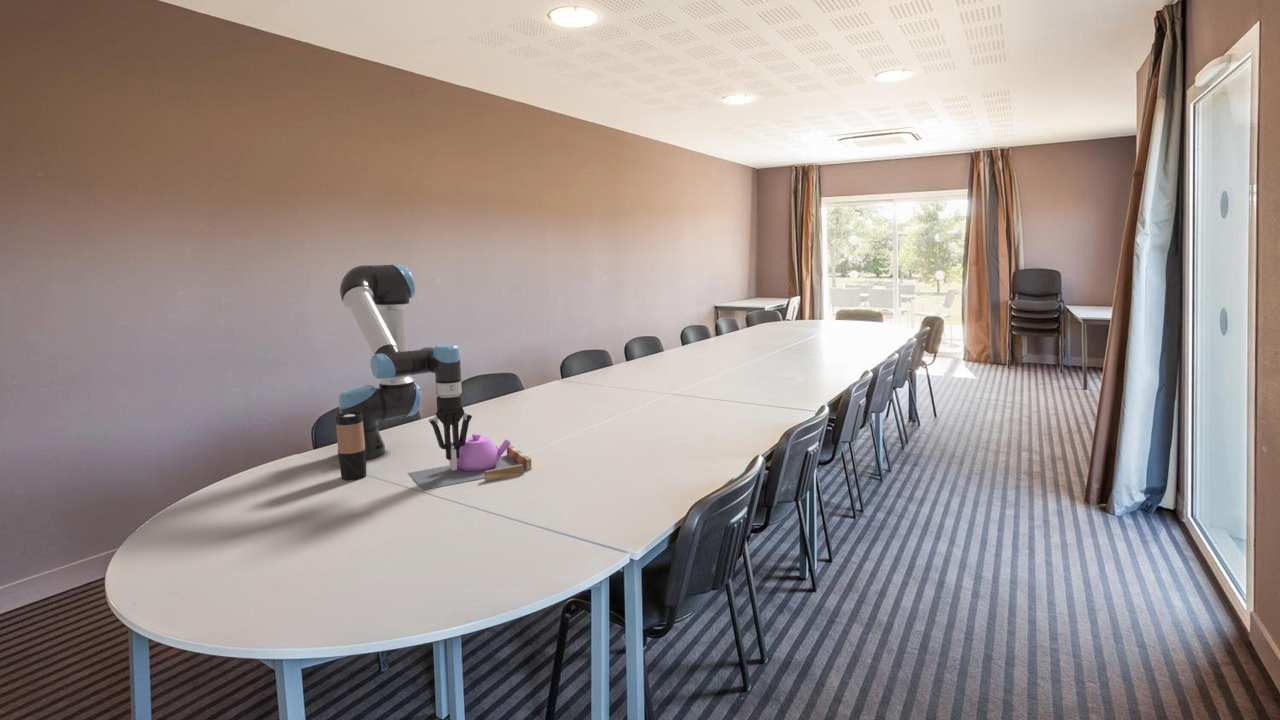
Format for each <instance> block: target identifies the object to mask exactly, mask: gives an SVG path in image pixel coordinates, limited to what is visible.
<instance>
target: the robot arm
mask: <svg viewBox="0 0 1280 720" xmlns="http://www.w3.org/2000/svg"><path fill="white" fill-rule="evenodd" d="M415 284H416V283H415V280H414V276H413V274H412V273H411V271H410V269H409V268H407V266H405V265H401V264H380V265H379V264H375V265H372V264H370V265H363V264H362V265H358V266H354V267H353V268H351V269H349V271H347V272H346V274H345V275H344V276H343V277H342V280H341V282H340V286H339V295H340V297H341V301H342V303H343V304H344V306H345V307H346V308H347V309H350V311H351V313H352V315H353V317H354V319H355V321H356V323H357V325H358V327H359V329H360V331H361V333H362V335H363V337H364V339H365V341H366V343H367V345H368V347H369V348H370V351H371V353H372V356H371V357H370V358H371V359H370V369H371V373H372V375H373V377H374V378H376V379H377V380H379V381H378V387H377V388H376V387H375V385H373V384H364V385H357V386H354V387H353V386H352V387H349V388H346V389H344V390H343V391H341V392H340V393H339V395H338V408H339V414H340V413H343V414H349V413H350V412H361V413H362V419H363V429H364V440H365V453H366V460H369V459H373V458H376V457H380V456H383V455H384V454H385V453H386V446H385V443H384V440H383V438H382V435H381V434H380V431H379V425H378V424H379V422H384V421H390V420H395V419H401V418H402V419H404V418H407V417H411V416H415V415H416V414H417V413H418V411H420V408H421V406H422V405H421V404H422V392H421V388H420V386H419V385H418V383H416V382H415V380H414V378H413V377H411V376H414V375H421V374H422V375H423V374H428V373H429V374H430V373H432V374H434V376H435V379H434V380H435V394H436V409H437V410H436V413H435V416H434V417H433V418H429V420H428V422H429V423H430V424H431V426H432V428H433V432H434V435H435V437H436V440H437V443H438V447H439V448H440V449H441V450H445V459H446V460H447V461H448V462H449V465H450V469H451V470H457V458H459V449H460V447H461V446H464V445H465V441H466V438H467V434H468V429H469V426H470V425H469V424H470V421H471V420H472V418H473V416H472V414H469V413H466V412H465V410H464V408H463V396H462V392H463V391H462V374H461V371H462V369H461V354H460V347H459V346H458V345H456V344H451V343H447V344H446V343H445V344H444V343H443V344H438V345H437V344H436V345H435V346H434V347H431V346H430V347H427V346H426V347H422V348H420V349H416V350H415V349H414V350H409V349H408V336H407V323H406V322H407V318H406V308H407V307H408V306H409V305H410V299H412V298H414V296H415V293H416V285H415ZM461 420H462V423H461V429H460V430H459V426H460V424H459V423H460V421H461ZM439 421H440V423H442V424H443V436H444V439H443V436H442V432H441V430H440V427H439V425H438V424H439ZM451 431H452V433H451ZM459 431H460V433H459ZM451 434H452V438H451ZM451 442H453V447H452V448H451ZM337 458H338V459H339V454H338V453H337Z"/></svg>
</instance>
